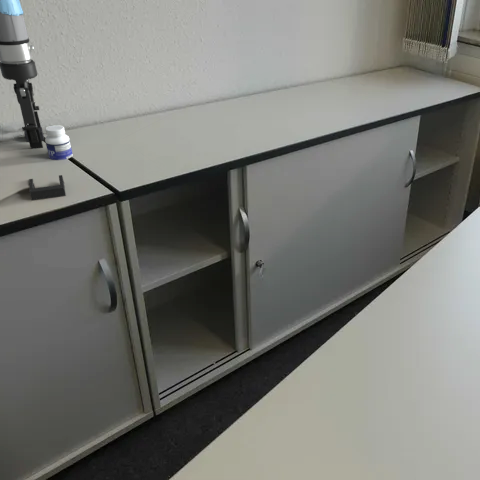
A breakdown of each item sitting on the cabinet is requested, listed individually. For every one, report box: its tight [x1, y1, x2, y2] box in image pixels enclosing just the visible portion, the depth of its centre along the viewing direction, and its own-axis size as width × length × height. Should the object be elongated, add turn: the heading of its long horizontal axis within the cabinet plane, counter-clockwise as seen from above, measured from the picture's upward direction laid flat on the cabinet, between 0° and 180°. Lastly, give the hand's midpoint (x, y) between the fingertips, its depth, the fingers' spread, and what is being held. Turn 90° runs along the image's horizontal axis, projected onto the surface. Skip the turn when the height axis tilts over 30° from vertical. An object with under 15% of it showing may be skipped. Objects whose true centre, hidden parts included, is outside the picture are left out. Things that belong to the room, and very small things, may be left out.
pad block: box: [23, 126, 45, 143], centre depth 141 cm, size 4×4×4 cm
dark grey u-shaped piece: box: [28, 174, 67, 201], centre depth 120 cm, size 7×7×2 cm
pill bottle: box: [44, 124, 74, 161], centre depth 132 cm, size 5×5×9 cm
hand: (37, 144), depth 142 cm, fingers open, 12 cm apart
